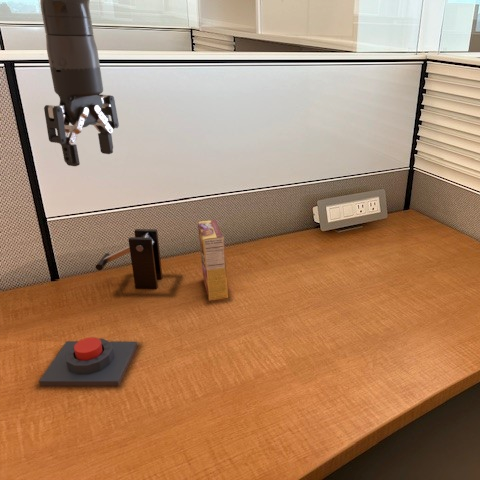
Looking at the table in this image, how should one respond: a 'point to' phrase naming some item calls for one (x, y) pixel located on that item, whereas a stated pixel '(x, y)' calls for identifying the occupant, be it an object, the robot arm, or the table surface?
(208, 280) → the candy box
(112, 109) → the robot arm
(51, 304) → the table surface
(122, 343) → the control block
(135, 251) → the bracket
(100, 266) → the lever
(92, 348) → the button
